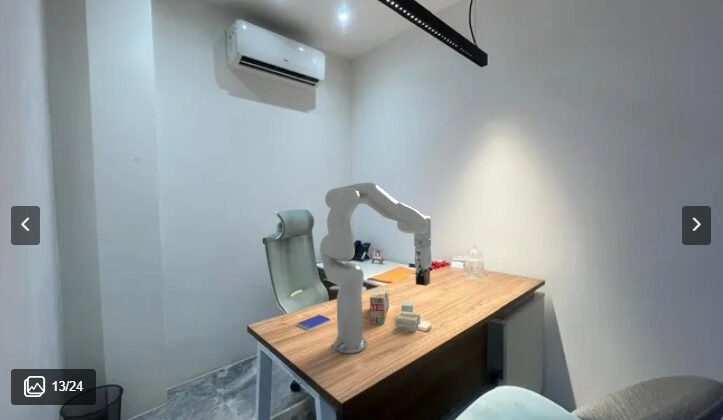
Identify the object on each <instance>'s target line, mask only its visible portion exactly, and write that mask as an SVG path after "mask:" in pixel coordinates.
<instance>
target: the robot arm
mask: <svg viewBox="0 0 723 420" xmlns="http://www.w3.org/2000/svg"><path fill="white" fill-rule="evenodd" d="M324 201H325V205H326V206H327V207H328V208H329V212H328V215H327V219H326V226H327V227H326V228H327V233H328V234H326V235H325V236H324V237H322V239H321V240H320V245H319V250H320V257H321V260H322V266H323V270H324V274H325V277H326V279H327V280H328V281H329V282H331V283H333V284H334V285H337V286H338V288H339V289H338V292H337V296H336V317H337V318H336V320H337V321H336V322H337V323H336V325H337V336H336V339H335V340H334V341H333V344H332V345H330V350H332V351H337V352H339V353H342V354H356V353H359V352H362V351H364V350H365V349H366V347H367V346H368V341H367V339H366V338H365V337H364V336H363V333H364V332H363V299H362V298H363V286H364V280H365V278H364V277H365V276H364V272H363V270H362V268H361V267H360V266H359V265H357V264H355V263H352V262H349V261H351V260H352V259H353V258H354V256H355V254H356V253H355V251H356V247H355V243H354V238H353V232H352V227H351V219H352V216H353V213H354V212H355V210H356V208H357V207H358V206H359V205H361V204H362V205H367V206H368V207H370V208H371V209H372V210H374V211H375V212H377V213H378V214H379V215H380V216H382V217H383V218H386V219H388V220H391V221H395V222H396V221H397V222H396V226H397V229H398V230H399V231H400V232H402V233H403V234H404V233H405V234H413V246H414V247H415V249H414V268H415V273H416V272H417V284H421V285H420V286H424V276H423V273H424V270H429V268H430V267H431V266H432V265H433V264H432V263H433V262H432V260H433V259H432V250H431V249H432V248H431V247H432V223H431V221H432V218H431V216H430V215H429V216H428V215H423V214H421V212H420V211H418V210H416V209H414V208H413V207H411V206H409V205H406V204H404V203H403V202H400V201H398V200H396V199H394V198H393V197H392V195H391V196H390V195H389V194H388V193H387V192H386V191H384V190H383V189H382V188H381V187H379V185H377V184H376V183H373V182H362V183H361V182H360V183H355V184H351V185H350V184H349V185H345V186H341V187H340V186H339V187H336V188H331V189H330V190H329V191H327V193H326V195H325V196H324ZM420 270H422V272H421V271H420ZM417 284H416V285H417Z"/></svg>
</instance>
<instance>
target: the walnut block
mask: <svg viewBox="0 0 723 420" xmlns="http://www.w3.org/2000/svg"><path fill="white" fill-rule="evenodd" d="M420 271H421V272H422V270H420ZM423 276H424V285H423V286H425V287H426V286H428V285H430V284H431V269H428V270H424V273H423ZM415 285H418V286H422V285H421V284H417V272H416V271H415Z"/></svg>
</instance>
